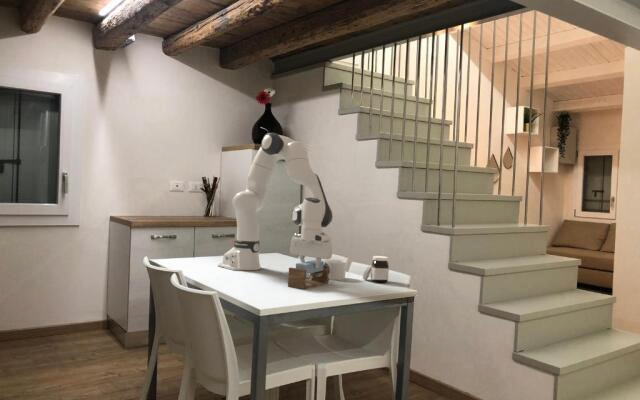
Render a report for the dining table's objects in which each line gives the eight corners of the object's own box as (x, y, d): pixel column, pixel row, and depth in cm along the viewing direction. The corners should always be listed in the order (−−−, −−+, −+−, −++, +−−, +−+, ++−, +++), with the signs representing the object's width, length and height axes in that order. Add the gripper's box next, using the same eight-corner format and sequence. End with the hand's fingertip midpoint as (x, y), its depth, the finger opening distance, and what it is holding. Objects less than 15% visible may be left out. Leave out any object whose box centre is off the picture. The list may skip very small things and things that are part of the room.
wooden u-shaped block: (303, 289, 218) (304, 270, 218) (288, 286, 223) (288, 267, 222) (328, 283, 234) (329, 265, 234) (313, 280, 238) (314, 263, 238)
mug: (350, 279, 247) (350, 262, 247) (331, 280, 241) (332, 263, 241) (333, 274, 258) (334, 258, 258) (315, 275, 252) (316, 259, 252)
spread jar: (389, 284, 239) (390, 258, 239) (365, 283, 239) (366, 257, 238) (384, 279, 251) (385, 255, 251) (361, 278, 251) (362, 254, 250)
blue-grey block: (305, 274, 221) (305, 264, 221) (295, 272, 224) (295, 263, 224) (323, 270, 233) (323, 261, 233) (314, 268, 236) (314, 260, 235)
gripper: (287, 233, 231) (286, 265, 231) (326, 238, 220) (325, 270, 220) (296, 232, 236) (295, 263, 237) (334, 237, 225) (333, 269, 225)
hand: (309, 267), depth 228 cm, fingers closed on blue-grey block, 5 cm apart
